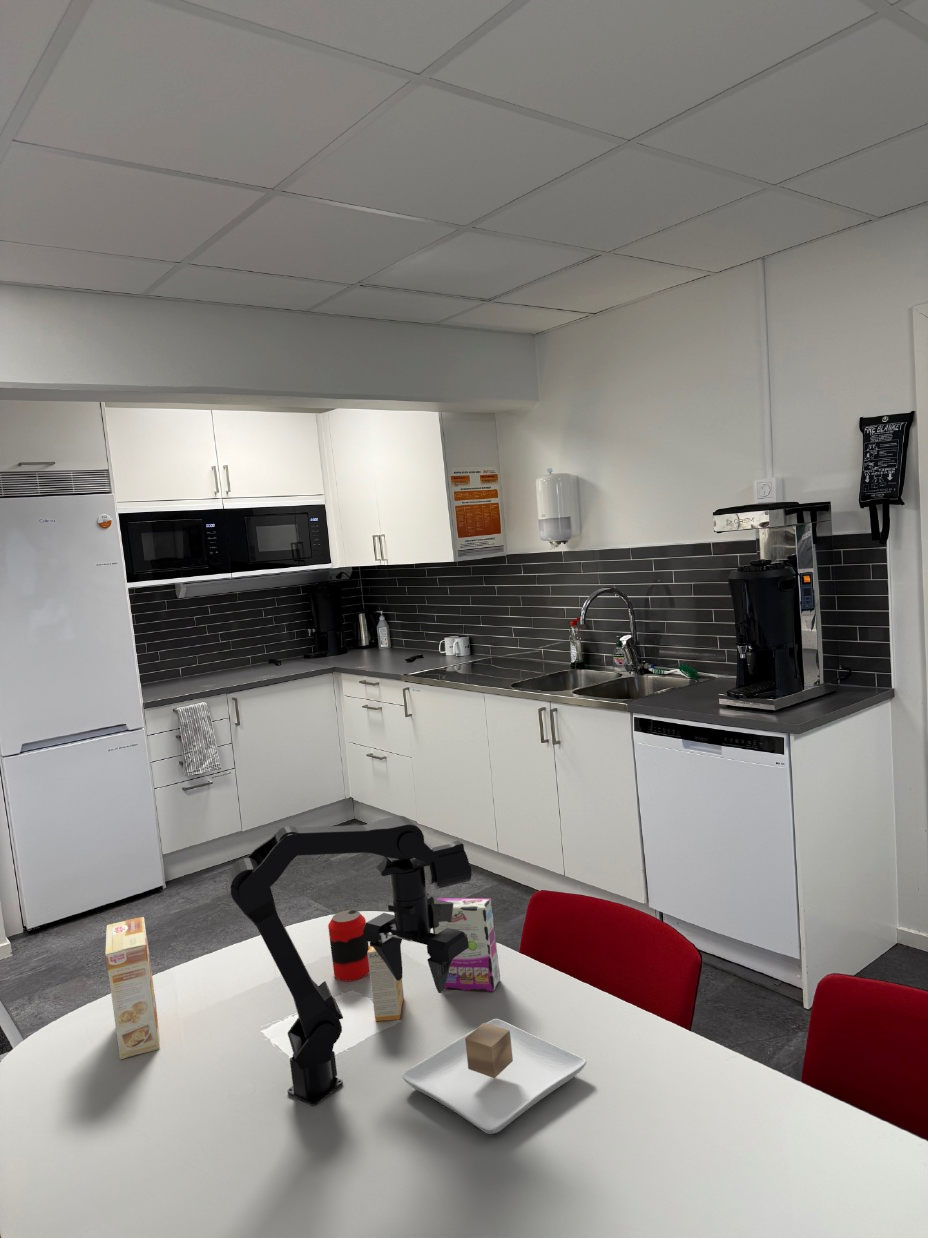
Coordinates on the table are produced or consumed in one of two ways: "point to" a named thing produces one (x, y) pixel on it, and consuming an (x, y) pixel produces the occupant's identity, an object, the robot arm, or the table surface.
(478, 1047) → the walnut cube
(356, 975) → the soda can
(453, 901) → the candy bar box
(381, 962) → the supplement box
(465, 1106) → the salad plate
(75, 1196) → the table surface
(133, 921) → the coffeecake box
